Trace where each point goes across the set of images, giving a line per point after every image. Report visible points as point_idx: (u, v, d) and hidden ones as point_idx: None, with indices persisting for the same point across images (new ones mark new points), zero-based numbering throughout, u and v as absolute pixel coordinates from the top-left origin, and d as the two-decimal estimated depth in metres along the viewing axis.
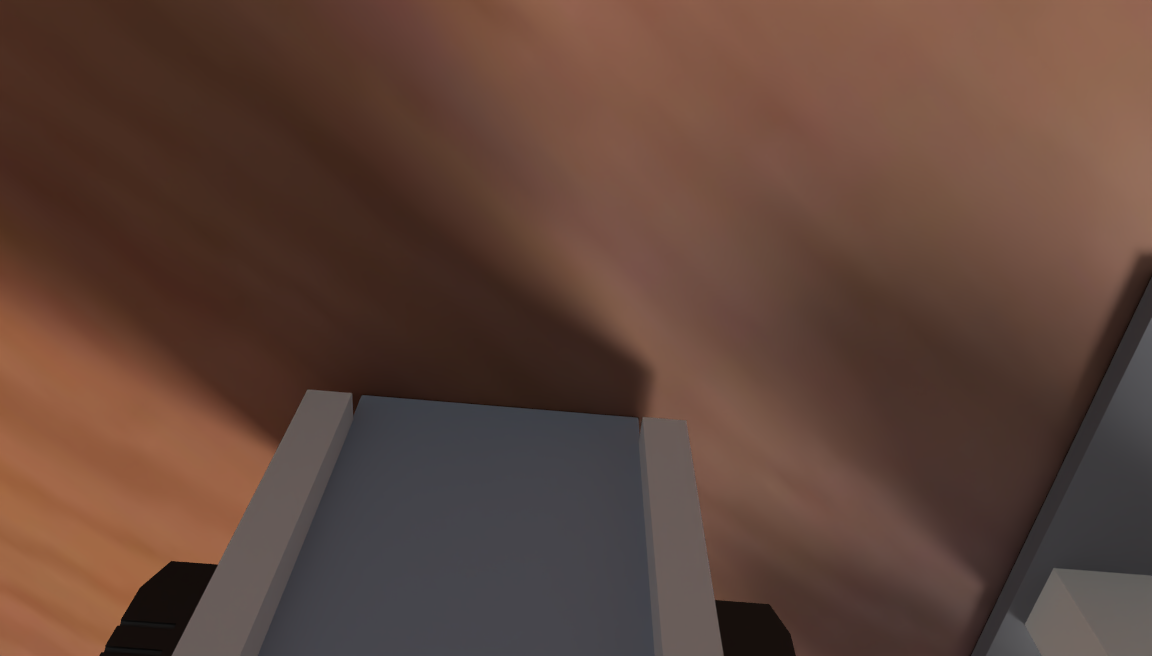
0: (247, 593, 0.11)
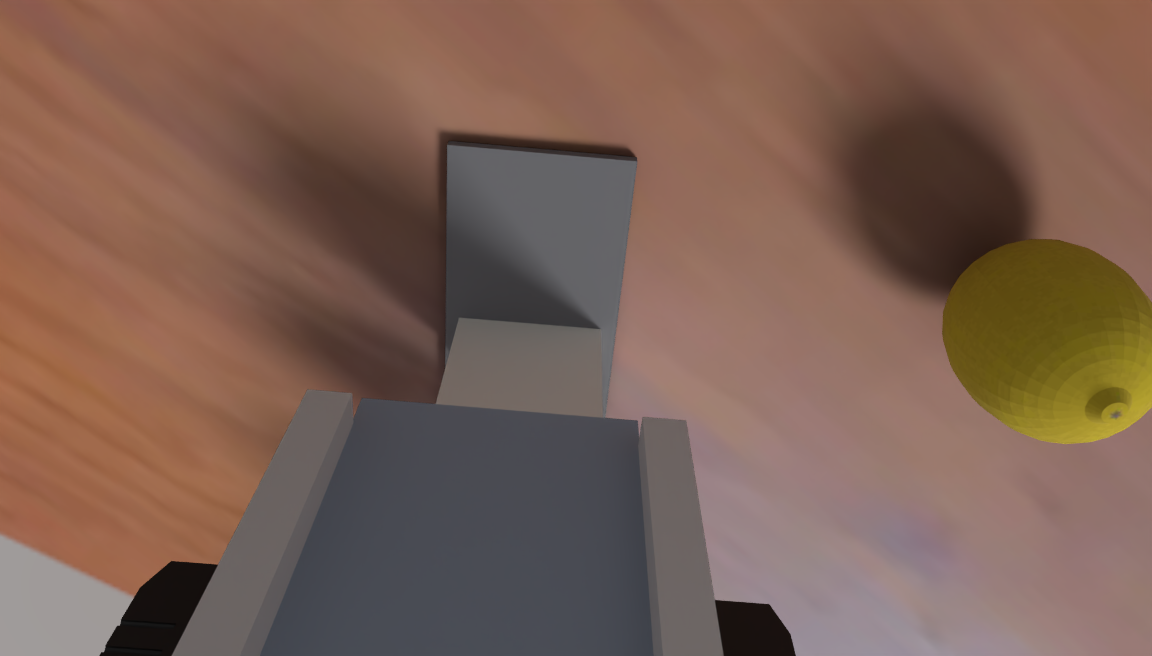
0: (247, 593, 0.11)
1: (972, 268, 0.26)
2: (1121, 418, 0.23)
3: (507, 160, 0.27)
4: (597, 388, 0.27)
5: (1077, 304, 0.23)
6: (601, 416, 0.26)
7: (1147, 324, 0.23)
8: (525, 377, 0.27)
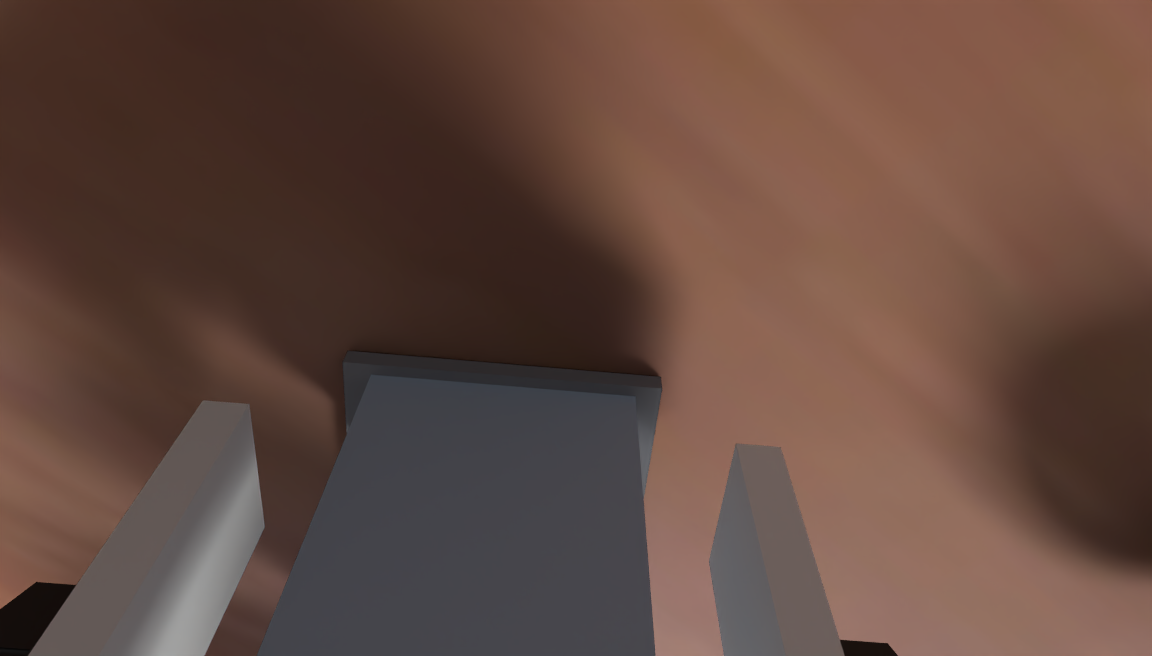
0: (99, 618, 0.10)
1: None
2: None
3: None
4: None
5: None
6: None
7: None
8: None
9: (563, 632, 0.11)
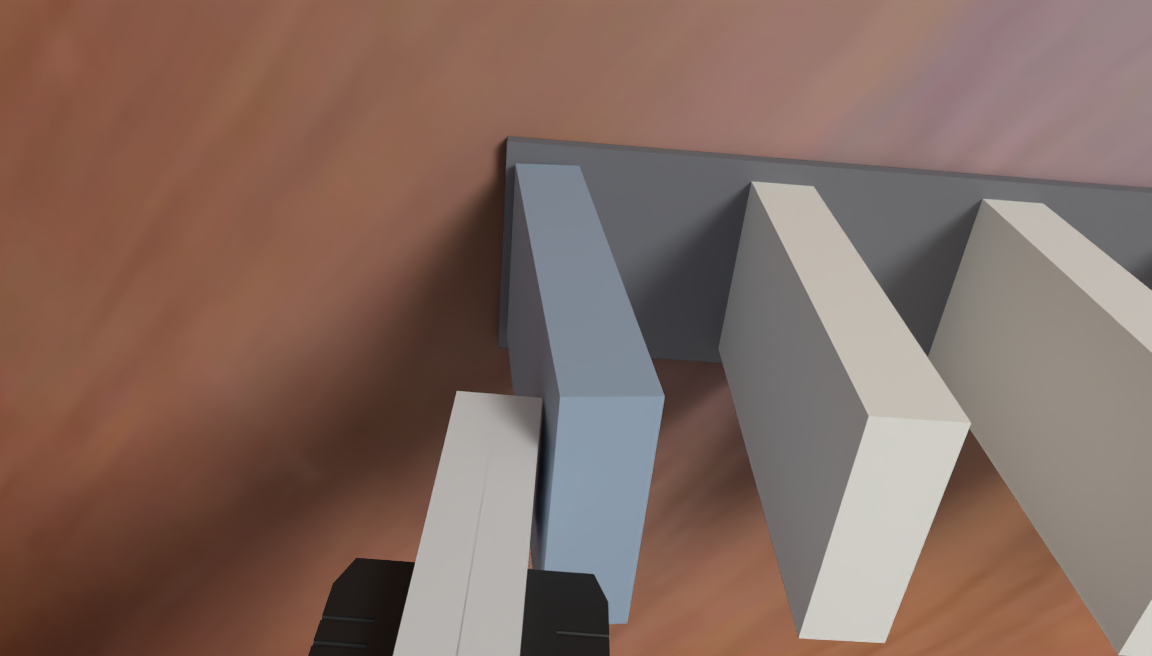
0: (451, 588, 0.11)
1: None
2: None
3: None
4: (781, 249, 0.19)
5: None
6: (797, 275, 0.17)
7: None
8: (758, 333, 0.20)
9: (531, 319, 0.17)
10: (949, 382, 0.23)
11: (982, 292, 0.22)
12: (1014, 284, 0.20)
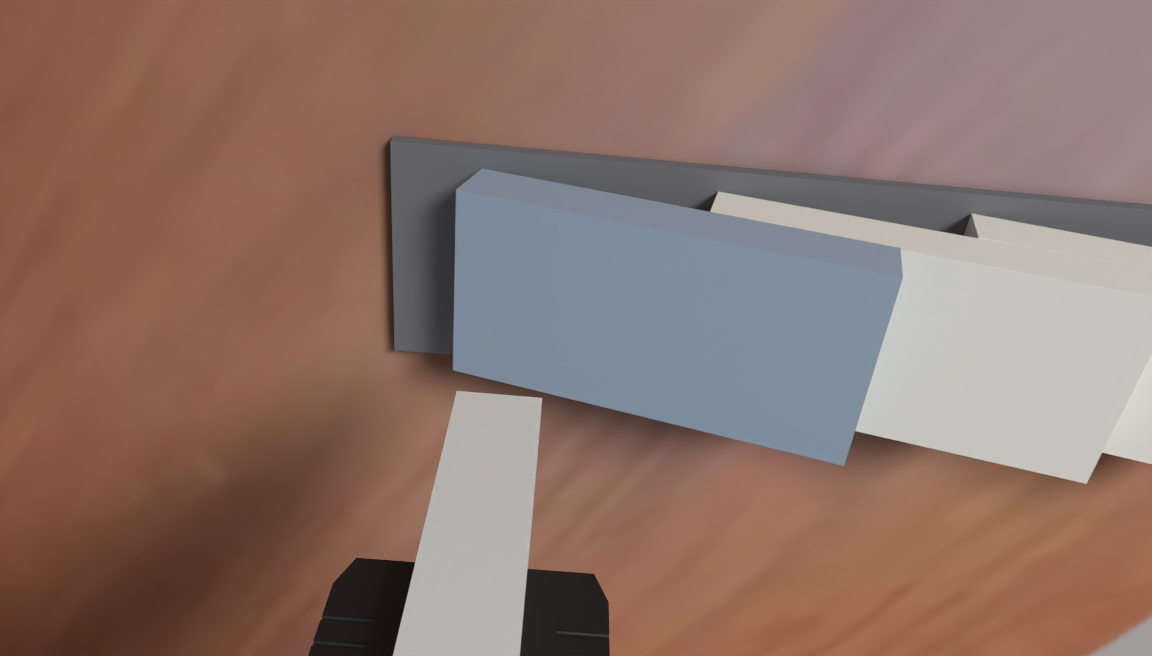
0: (451, 589, 0.11)
1: None
2: None
3: (405, 290, 0.23)
4: None
5: None
6: (940, 258, 0.19)
7: None
8: None
9: (687, 285, 0.19)
10: None
11: None
12: None
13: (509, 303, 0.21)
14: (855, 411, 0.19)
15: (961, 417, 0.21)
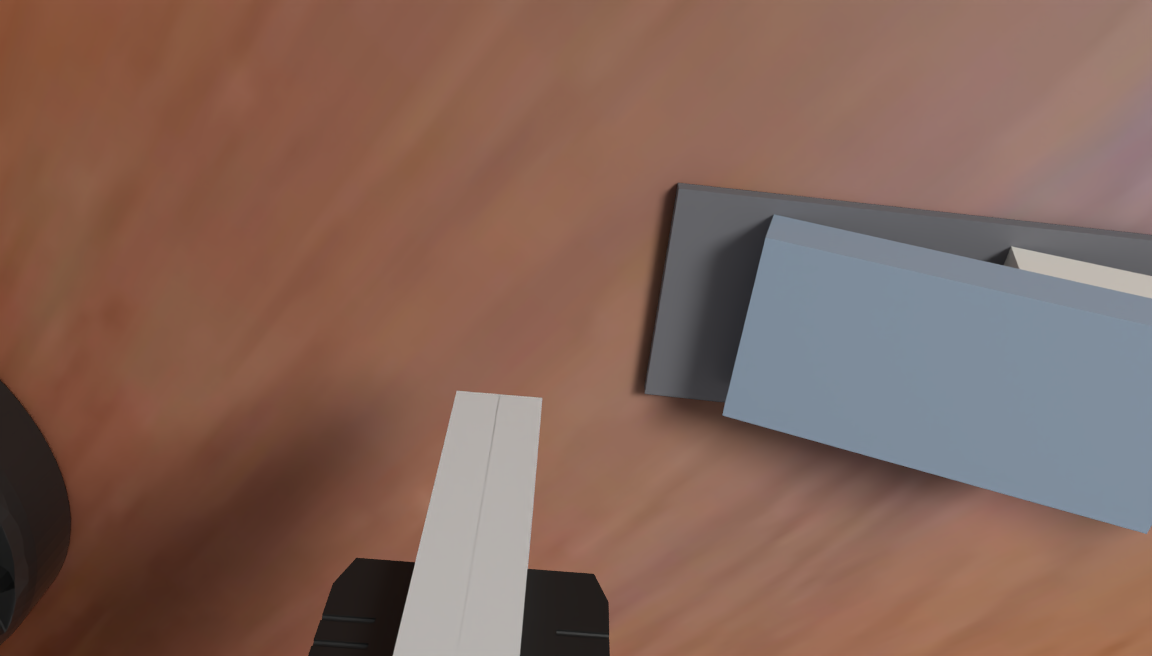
0: (451, 588, 0.11)
1: None
2: None
3: (666, 335, 0.23)
4: None
5: None
6: None
7: None
8: None
9: (1006, 345, 0.19)
10: None
11: None
12: None
13: (800, 352, 0.21)
14: None
15: None
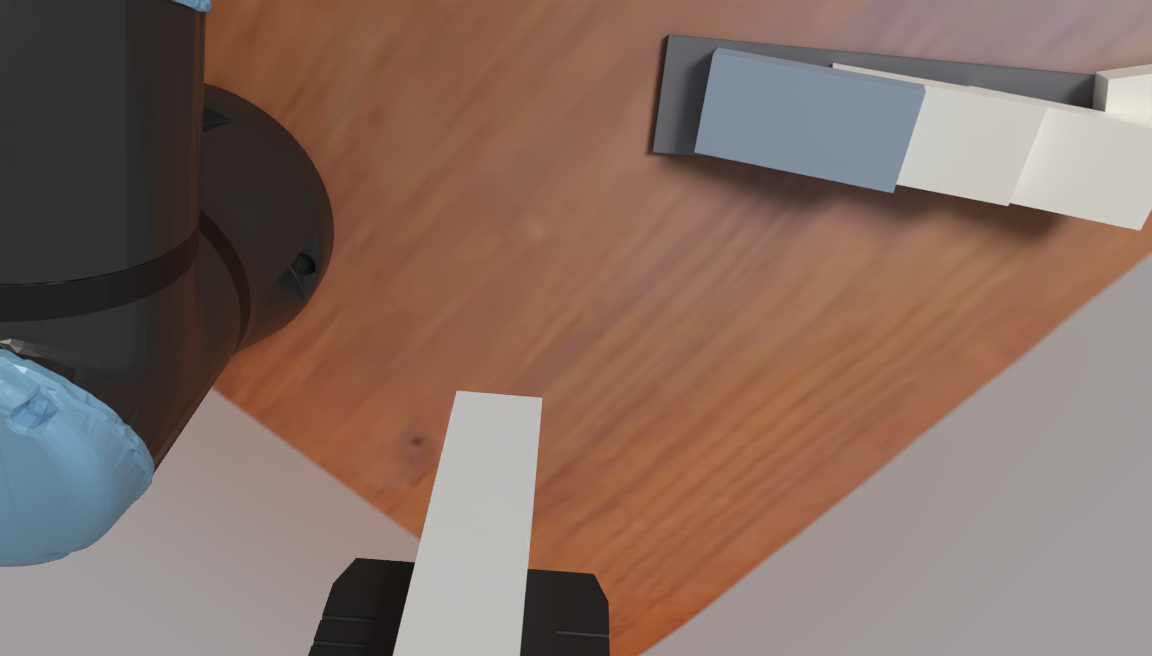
0: (451, 589, 0.11)
1: None
2: None
3: (663, 117, 0.45)
4: None
5: None
6: (942, 89, 0.41)
7: None
8: None
9: (823, 99, 0.41)
10: None
11: None
12: None
13: (731, 112, 0.43)
14: (900, 162, 0.41)
15: (949, 173, 0.43)
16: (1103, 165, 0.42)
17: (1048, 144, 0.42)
